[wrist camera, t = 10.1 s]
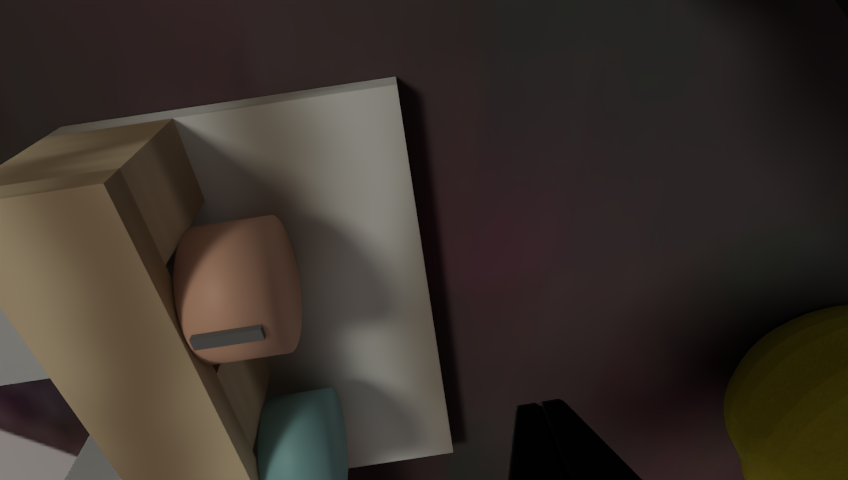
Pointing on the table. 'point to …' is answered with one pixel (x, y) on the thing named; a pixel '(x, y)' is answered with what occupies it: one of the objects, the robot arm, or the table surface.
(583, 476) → the robot arm
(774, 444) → the lemon
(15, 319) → the mount
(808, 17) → the table surface
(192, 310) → the terracotta knob
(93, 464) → the teal knob
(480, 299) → the table surface
